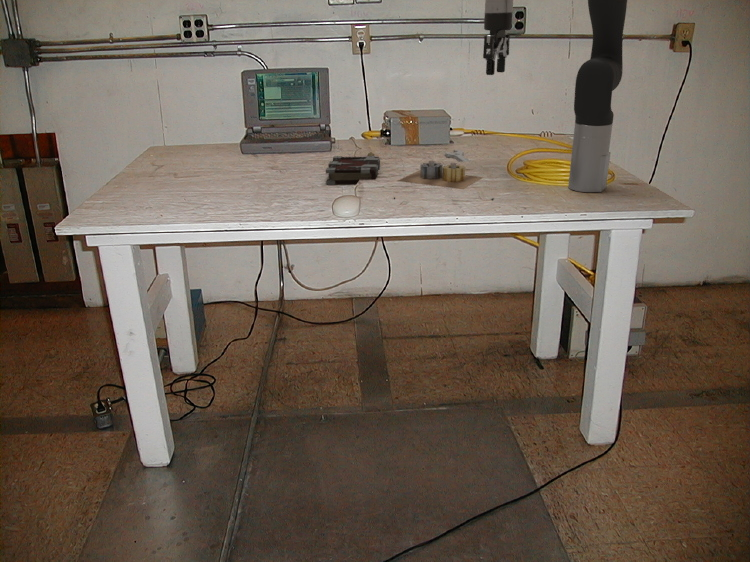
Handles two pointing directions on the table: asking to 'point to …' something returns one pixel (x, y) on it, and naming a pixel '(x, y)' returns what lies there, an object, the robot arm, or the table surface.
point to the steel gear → (431, 171)
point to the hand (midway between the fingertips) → (495, 73)
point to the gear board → (439, 182)
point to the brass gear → (453, 173)
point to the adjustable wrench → (457, 156)
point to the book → (352, 169)
